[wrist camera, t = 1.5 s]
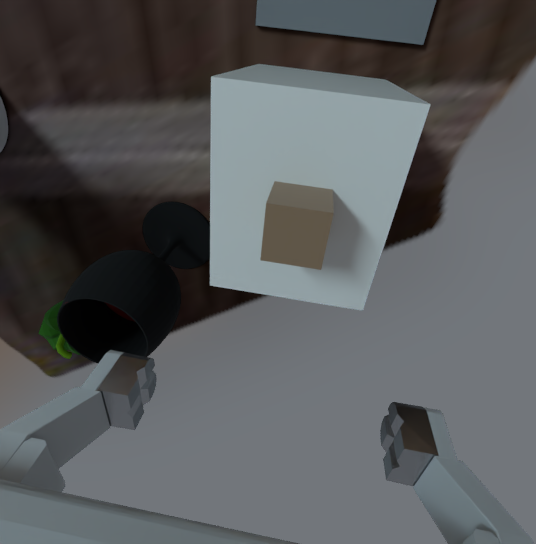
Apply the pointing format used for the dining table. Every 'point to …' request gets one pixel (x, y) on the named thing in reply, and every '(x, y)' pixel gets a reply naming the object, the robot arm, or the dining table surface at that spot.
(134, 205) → the dining table surface
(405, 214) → the dining table surface
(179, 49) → the dining table surface
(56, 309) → the bell pepper
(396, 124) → the cover
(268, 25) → the mat
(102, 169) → the dining table surface
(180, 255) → the wine glass
